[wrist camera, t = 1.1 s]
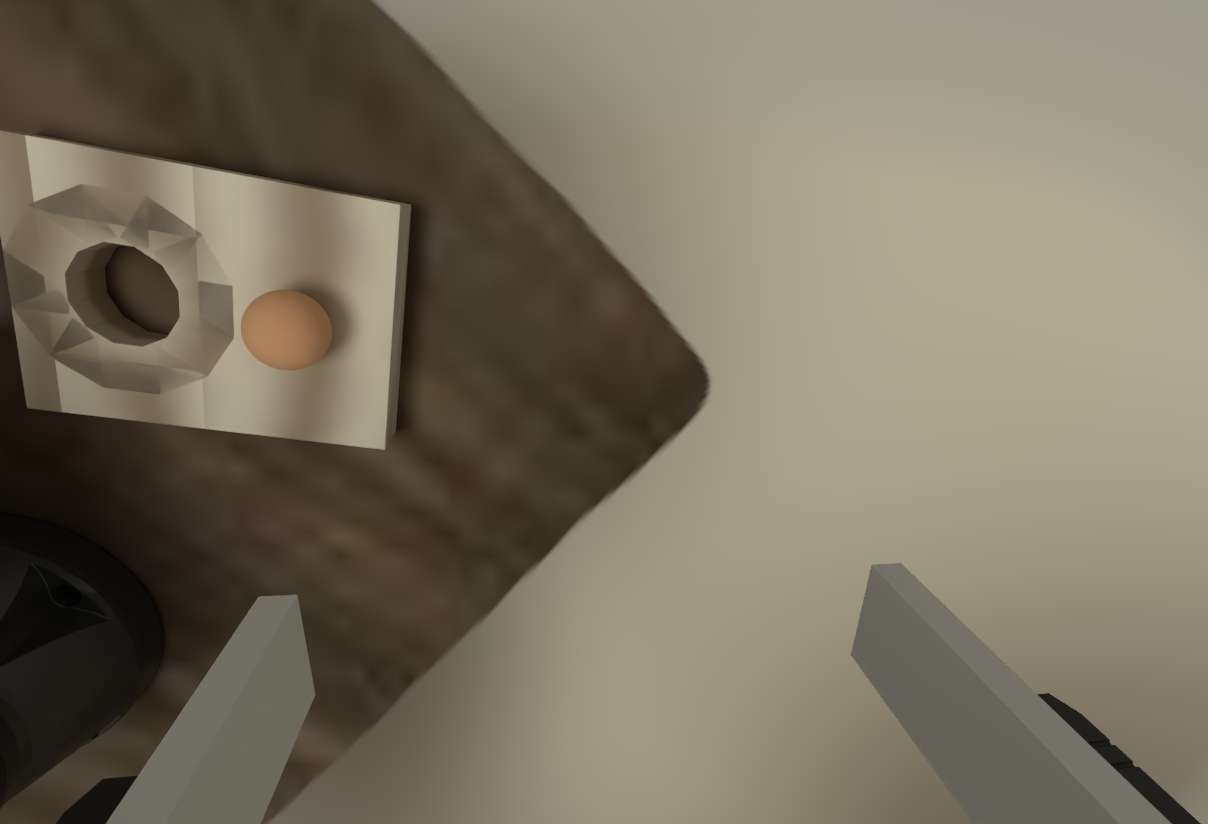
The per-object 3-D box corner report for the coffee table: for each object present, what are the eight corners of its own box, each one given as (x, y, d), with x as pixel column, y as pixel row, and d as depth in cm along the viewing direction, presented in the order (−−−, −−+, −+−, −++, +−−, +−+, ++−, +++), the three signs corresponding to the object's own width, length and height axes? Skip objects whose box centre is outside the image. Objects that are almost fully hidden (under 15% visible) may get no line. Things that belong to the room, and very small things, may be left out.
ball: (262, 353, 27) (225, 374, 24) (262, 278, 26) (223, 289, 23) (341, 364, 28) (315, 385, 24) (343, 291, 26) (317, 304, 23)
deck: (68, 391, 29) (27, 408, 27) (34, 134, 25) (-17, 127, 23) (395, 431, 32) (384, 449, 29) (411, 204, 28) (400, 205, 25)
